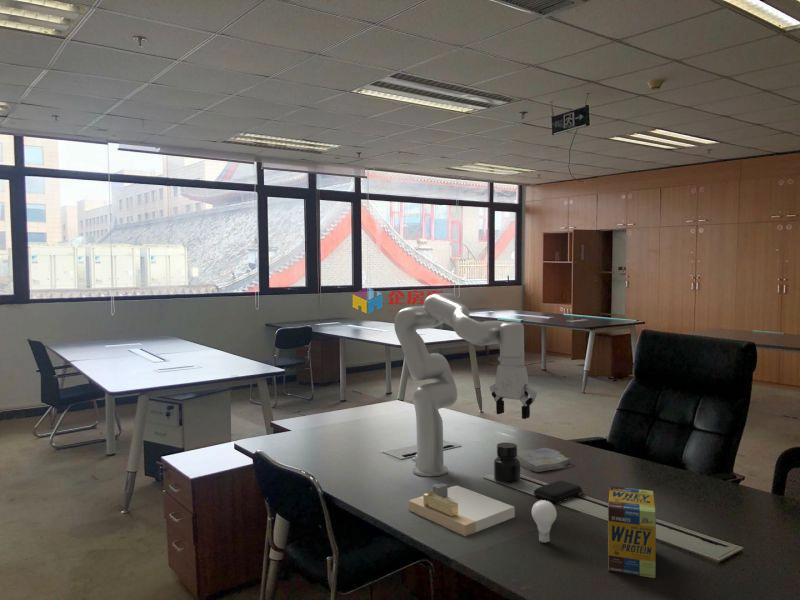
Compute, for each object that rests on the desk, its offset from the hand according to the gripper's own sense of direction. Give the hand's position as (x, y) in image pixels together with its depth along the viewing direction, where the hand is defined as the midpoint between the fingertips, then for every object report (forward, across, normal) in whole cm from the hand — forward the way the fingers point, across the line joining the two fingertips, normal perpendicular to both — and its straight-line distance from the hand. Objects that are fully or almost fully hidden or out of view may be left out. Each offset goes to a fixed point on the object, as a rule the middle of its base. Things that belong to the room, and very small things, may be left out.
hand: (512, 415), depth 188 cm
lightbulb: (+26, +25, -21) cm, 42 cm away
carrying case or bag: (+26, +10, +11) cm, 30 cm away
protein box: (+26, +46, -15) cm, 55 cm away
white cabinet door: (+26, -3, -23) cm, 35 cm away
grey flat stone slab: (+26, -13, +36) cm, 47 cm away
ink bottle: (+26, -11, +12) cm, 31 cm away
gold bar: (+22, -4, -30) cm, 38 cm away
